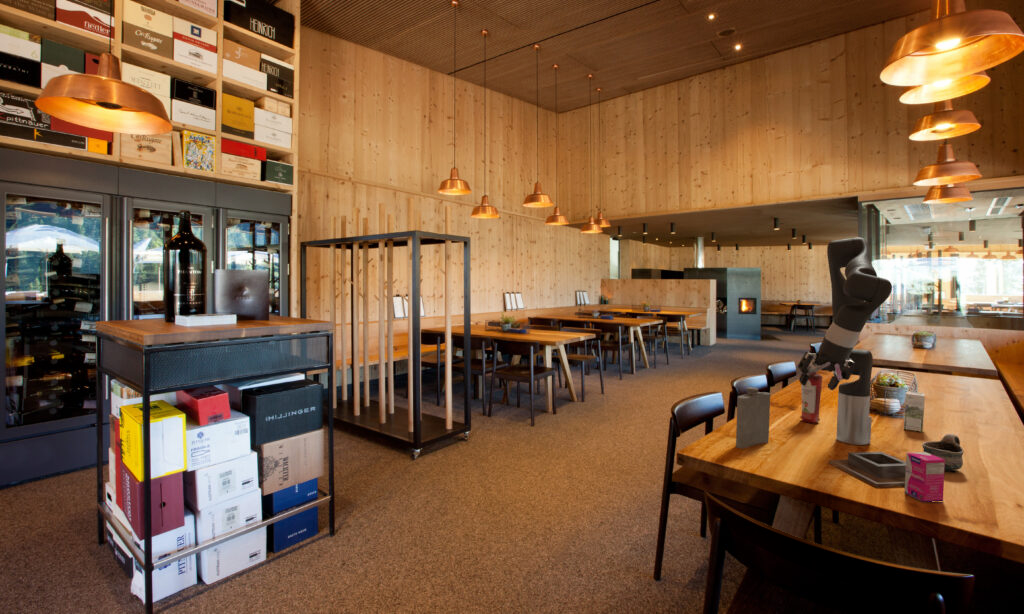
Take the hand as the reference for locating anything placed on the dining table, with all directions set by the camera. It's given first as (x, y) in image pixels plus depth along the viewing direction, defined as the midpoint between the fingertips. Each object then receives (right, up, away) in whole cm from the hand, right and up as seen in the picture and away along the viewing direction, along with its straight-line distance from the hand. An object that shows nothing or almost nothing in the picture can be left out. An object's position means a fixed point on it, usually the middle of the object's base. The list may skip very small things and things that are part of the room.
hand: (815, 386), depth 145 cm
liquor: (+30, -23, +52) cm, 65 cm away
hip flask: (-7, -25, +25) cm, 36 cm away
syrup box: (+64, -24, +42) cm, 81 cm away
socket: (+18, -26, -1) cm, 32 cm away
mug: (+42, -26, +4) cm, 49 cm away
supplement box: (+18, -27, -17) cm, 37 cm away
